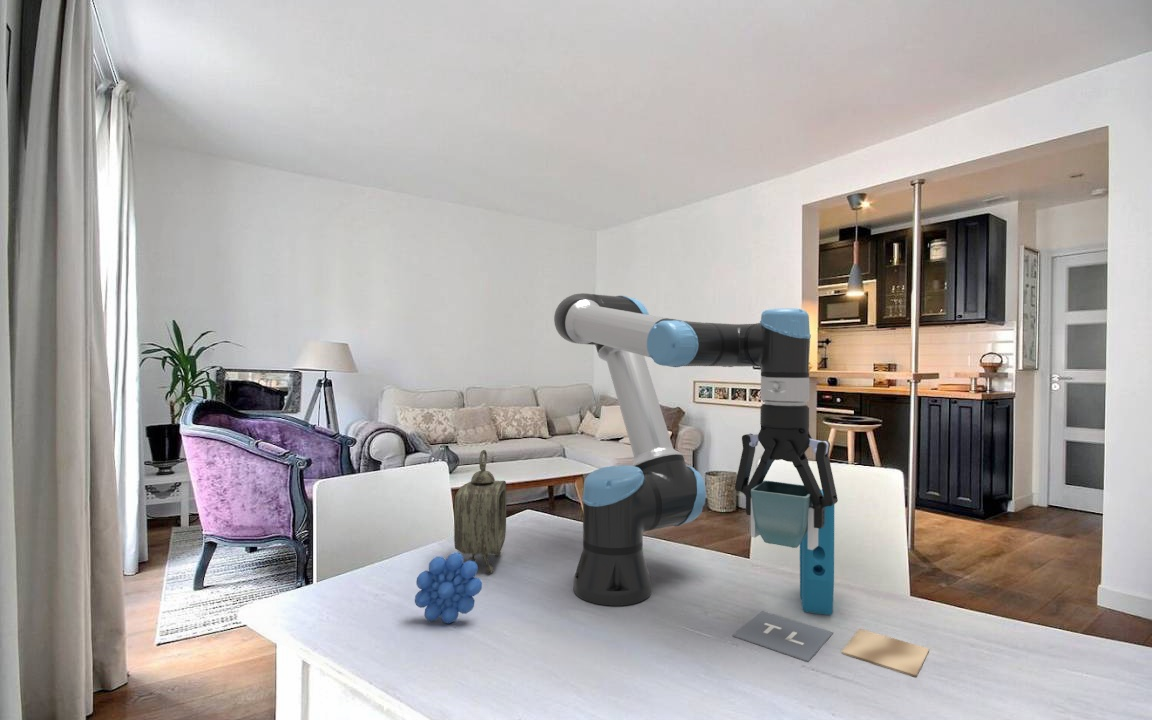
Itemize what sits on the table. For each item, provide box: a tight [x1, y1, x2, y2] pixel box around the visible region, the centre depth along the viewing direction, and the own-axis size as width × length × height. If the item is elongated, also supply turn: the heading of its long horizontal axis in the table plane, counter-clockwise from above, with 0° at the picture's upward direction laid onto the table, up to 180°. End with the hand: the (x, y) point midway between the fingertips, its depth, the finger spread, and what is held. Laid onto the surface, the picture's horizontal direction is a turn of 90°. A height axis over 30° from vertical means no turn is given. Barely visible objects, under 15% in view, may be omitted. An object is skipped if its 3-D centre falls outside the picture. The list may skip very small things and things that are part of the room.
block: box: [799, 489, 835, 616], centre depth 105 cm, size 12×5×20 cm, turn 162°
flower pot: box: [751, 480, 813, 549], centre depth 93 cm, size 9×9×9 cm
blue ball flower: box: [414, 552, 483, 624], centre depth 98 cm, size 12×7×12 cm, turn 85°
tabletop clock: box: [453, 449, 507, 574], centre depth 125 cm, size 14×9×25 cm, turn 179°
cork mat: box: [841, 628, 930, 678], centre depth 88 cm, size 10×10×1 cm
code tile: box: [732, 610, 834, 663], centre depth 93 cm, size 12×12×1 cm
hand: (783, 541), depth 93 cm, fingers closed on flower pot, 9 cm apart
